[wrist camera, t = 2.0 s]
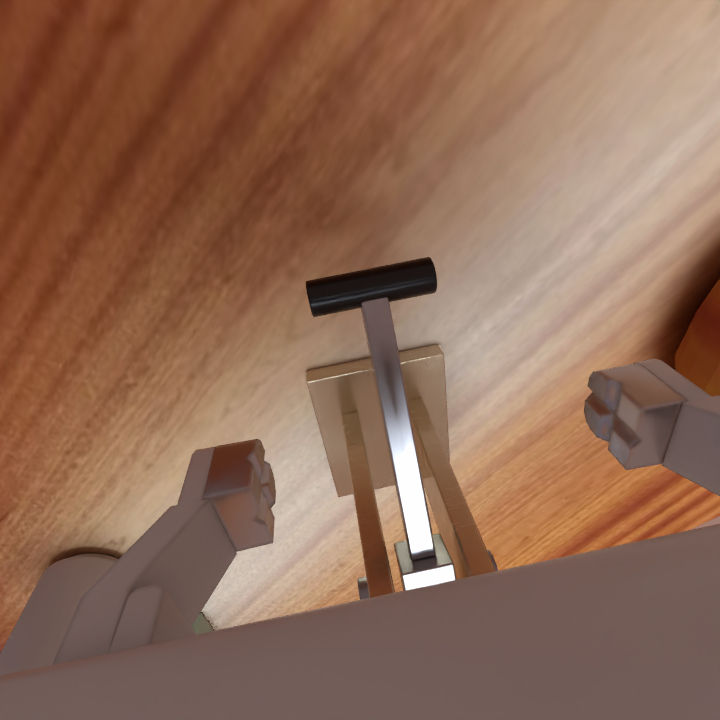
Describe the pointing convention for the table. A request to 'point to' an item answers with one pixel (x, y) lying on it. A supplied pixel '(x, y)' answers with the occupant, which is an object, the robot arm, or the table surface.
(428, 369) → the bracket
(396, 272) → the lever
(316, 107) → the table surface
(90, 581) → the beverage can
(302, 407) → the table surface
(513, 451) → the table surface
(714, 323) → the pumpkin
